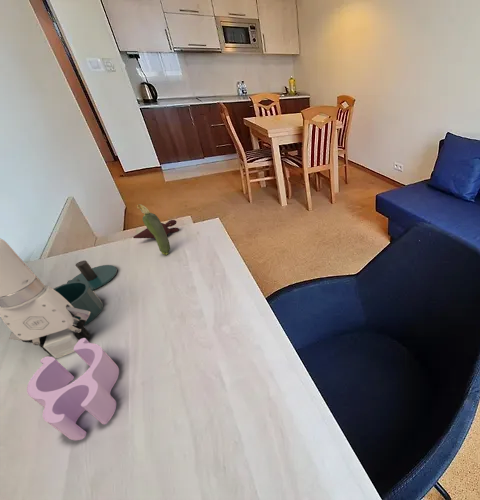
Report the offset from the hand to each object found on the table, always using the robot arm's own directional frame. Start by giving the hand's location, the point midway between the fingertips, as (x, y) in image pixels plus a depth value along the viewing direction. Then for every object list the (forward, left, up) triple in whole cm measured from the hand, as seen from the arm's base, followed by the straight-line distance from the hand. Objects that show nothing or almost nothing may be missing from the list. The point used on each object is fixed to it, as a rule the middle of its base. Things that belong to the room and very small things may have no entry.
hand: (70, 344), depth 75 cm
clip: (+8, -18, -1) cm, 19 cm away
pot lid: (-2, +29, 0) cm, 29 cm away
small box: (0, 0, -1) cm, 1 cm away
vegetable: (+20, +33, -1) cm, 39 cm away
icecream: (+16, +47, -1) cm, 50 cm away
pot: (-2, +12, -1) cm, 12 cm away
